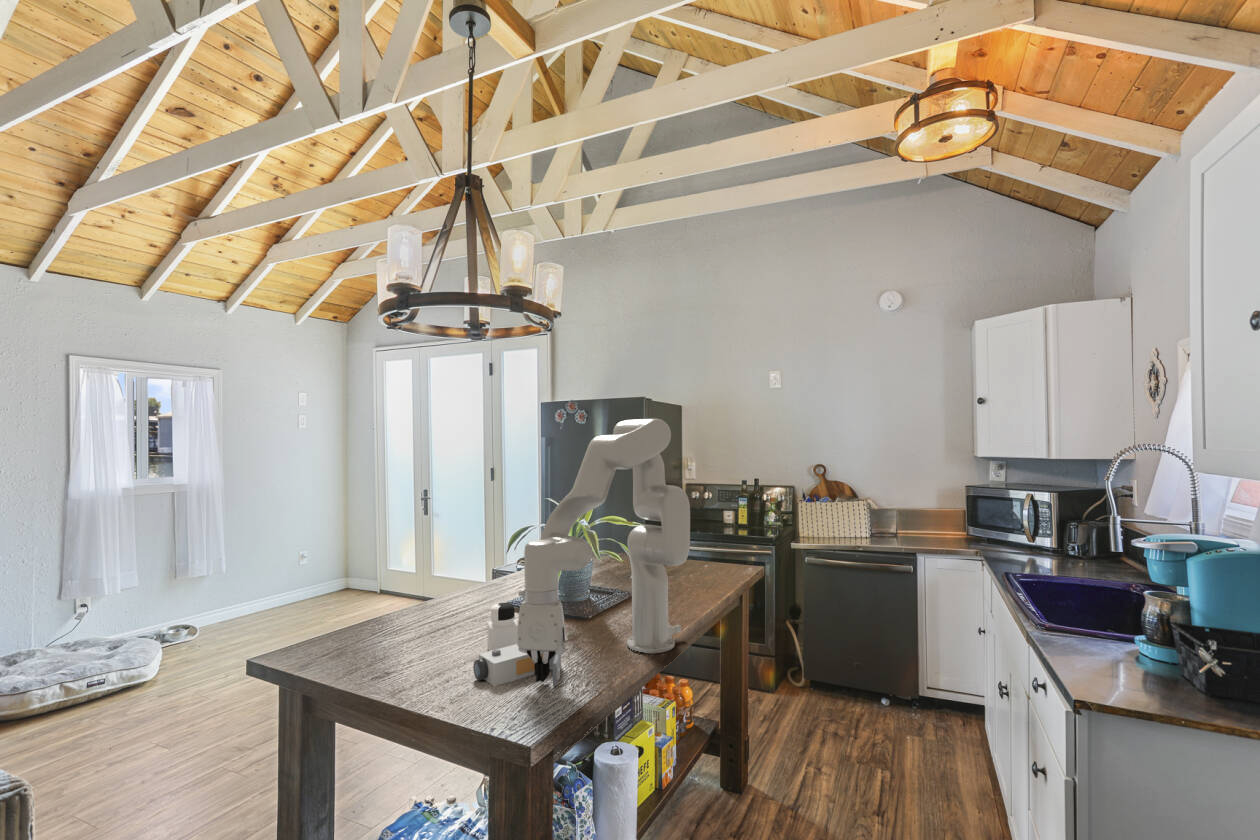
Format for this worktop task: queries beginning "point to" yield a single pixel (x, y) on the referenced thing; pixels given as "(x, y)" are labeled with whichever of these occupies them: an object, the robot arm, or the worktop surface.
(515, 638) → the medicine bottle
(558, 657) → the side door
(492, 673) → the camera body
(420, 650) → the worktop surface
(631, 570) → the robot arm
